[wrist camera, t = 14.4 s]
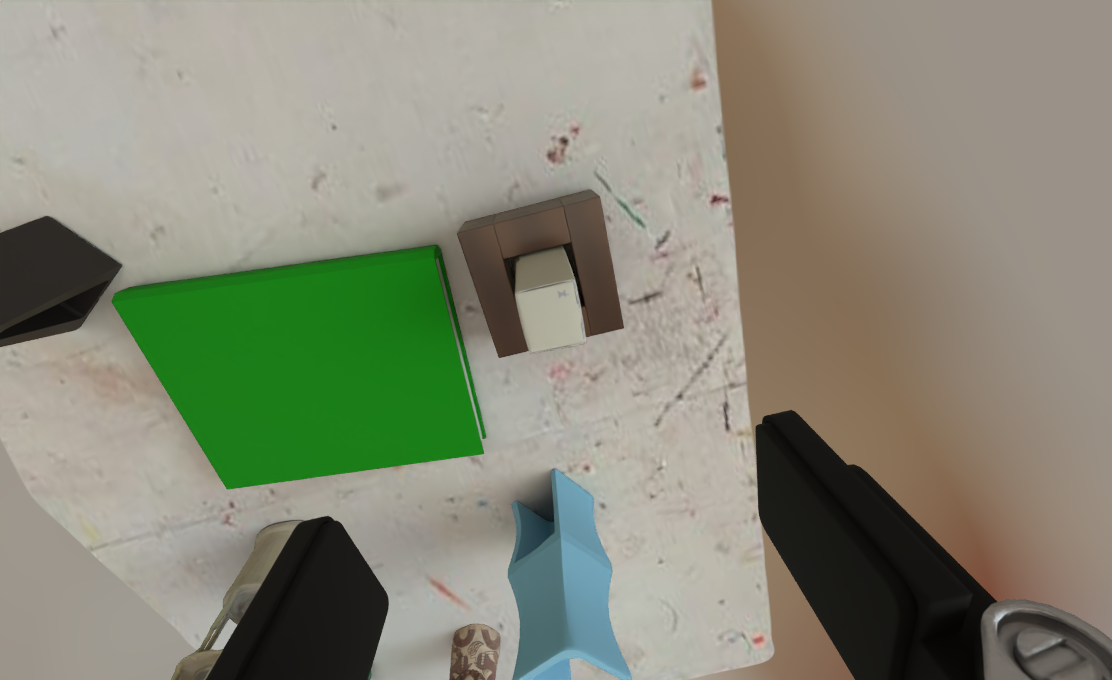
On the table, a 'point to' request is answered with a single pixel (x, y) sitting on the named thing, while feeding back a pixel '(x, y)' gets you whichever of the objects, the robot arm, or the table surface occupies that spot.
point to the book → (313, 365)
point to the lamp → (238, 598)
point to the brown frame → (532, 231)
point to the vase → (562, 589)
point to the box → (548, 300)
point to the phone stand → (48, 280)
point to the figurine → (475, 653)
